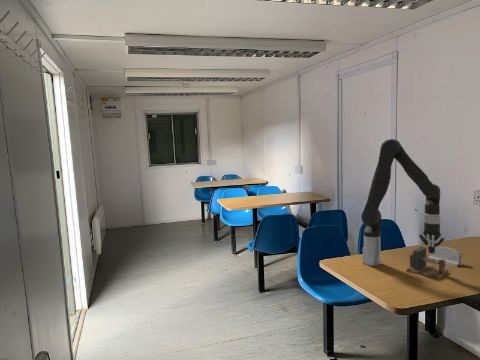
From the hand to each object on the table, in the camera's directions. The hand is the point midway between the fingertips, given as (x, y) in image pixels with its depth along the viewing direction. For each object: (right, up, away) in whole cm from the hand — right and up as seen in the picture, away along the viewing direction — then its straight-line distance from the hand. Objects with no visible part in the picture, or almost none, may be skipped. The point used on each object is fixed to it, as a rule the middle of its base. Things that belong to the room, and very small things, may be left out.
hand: (431, 253), depth 185 cm
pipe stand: (-1, -11, +3) cm, 11 cm away
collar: (-4, -9, +6) cm, 11 cm away
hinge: (+17, -9, +16) cm, 25 cm away
